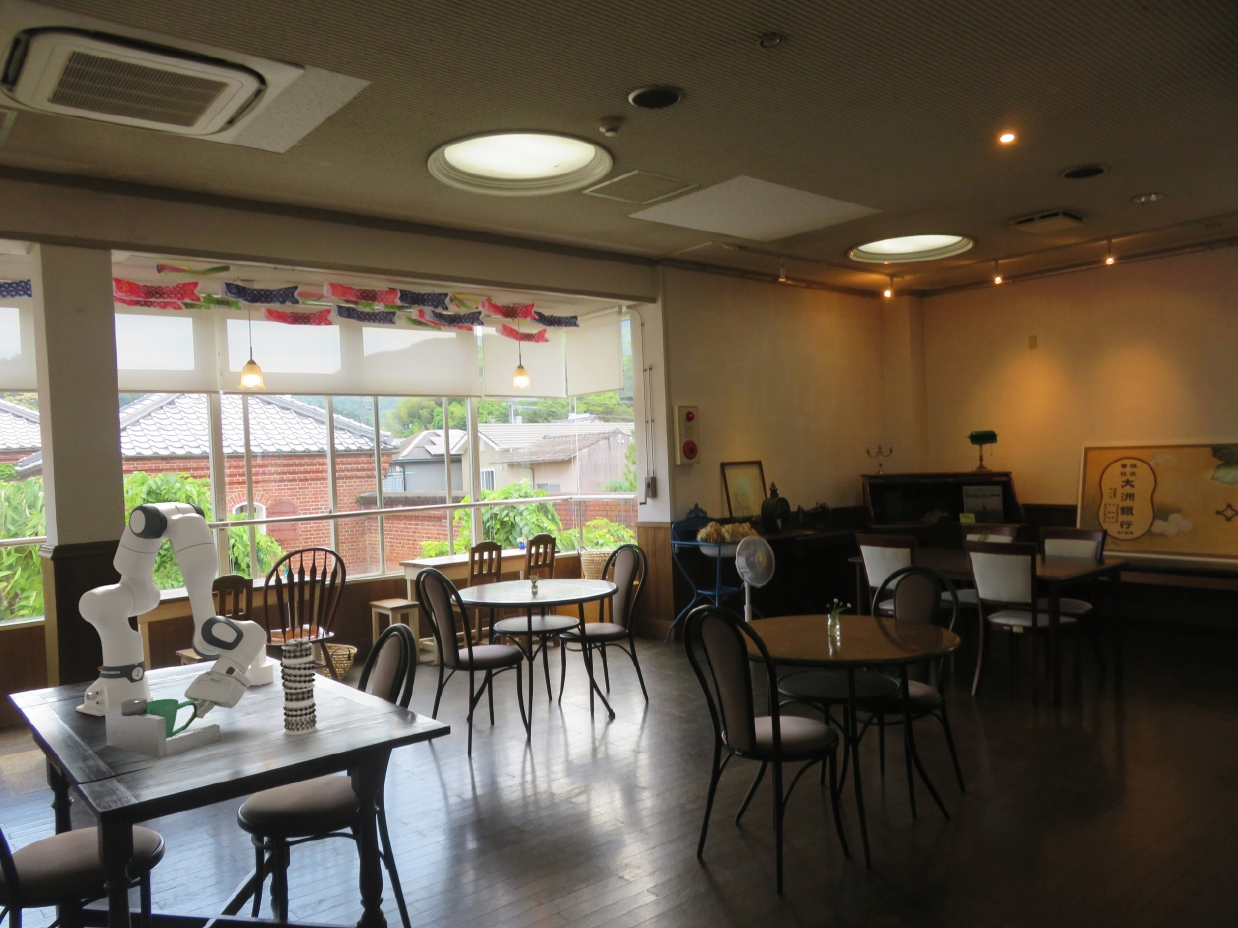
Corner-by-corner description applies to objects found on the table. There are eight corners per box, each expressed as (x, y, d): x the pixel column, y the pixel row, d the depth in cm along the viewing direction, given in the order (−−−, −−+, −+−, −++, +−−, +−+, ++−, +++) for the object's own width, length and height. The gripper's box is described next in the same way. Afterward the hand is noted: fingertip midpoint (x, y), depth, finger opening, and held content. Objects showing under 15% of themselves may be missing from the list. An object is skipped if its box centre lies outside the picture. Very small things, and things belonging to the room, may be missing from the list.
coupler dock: (167, 727, 257) (165, 682, 257) (220, 739, 244) (218, 691, 244) (99, 747, 241) (96, 698, 241) (151, 761, 228) (149, 709, 228)
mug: (140, 748, 239) (138, 710, 239) (139, 739, 247) (137, 702, 247) (201, 737, 246) (199, 701, 246) (197, 728, 255) (196, 693, 255)
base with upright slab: (249, 680, 313) (248, 645, 313) (276, 678, 314) (274, 643, 314) (241, 686, 304) (240, 651, 304) (269, 684, 305) (267, 649, 305)
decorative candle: (303, 736, 244) (299, 643, 244) (275, 733, 247) (271, 642, 247) (325, 726, 253) (321, 637, 252) (298, 724, 256) (294, 636, 256)
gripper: (197, 664, 264) (167, 706, 255) (241, 671, 253) (210, 715, 244) (212, 676, 267) (182, 718, 259) (255, 683, 256) (226, 726, 248)
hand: (196, 716), depth 252 cm, fingers closed
